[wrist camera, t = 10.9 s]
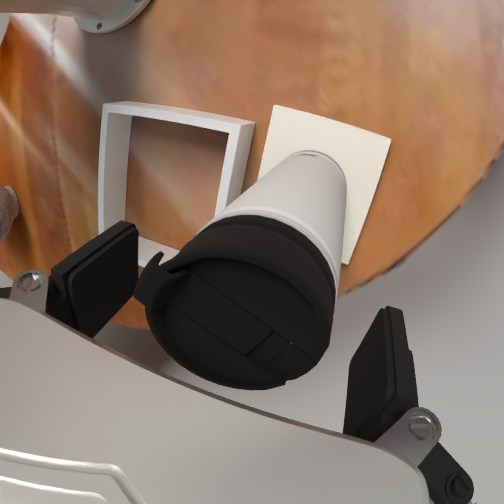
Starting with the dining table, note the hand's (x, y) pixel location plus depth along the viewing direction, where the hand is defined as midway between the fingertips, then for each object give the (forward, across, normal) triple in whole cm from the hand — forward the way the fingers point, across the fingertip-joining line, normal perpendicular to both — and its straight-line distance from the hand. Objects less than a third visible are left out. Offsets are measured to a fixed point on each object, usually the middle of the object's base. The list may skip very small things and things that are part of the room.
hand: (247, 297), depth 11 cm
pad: (+19, -1, +1) cm, 19 cm away
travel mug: (+18, 0, +1) cm, 18 cm away
